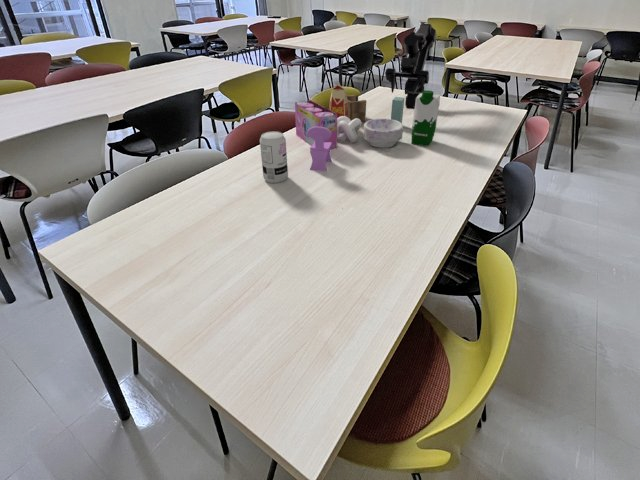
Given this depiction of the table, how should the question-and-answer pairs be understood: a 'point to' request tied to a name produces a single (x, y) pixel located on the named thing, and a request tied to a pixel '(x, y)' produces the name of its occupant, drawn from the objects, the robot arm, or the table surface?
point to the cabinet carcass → (356, 108)
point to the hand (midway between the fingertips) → (402, 93)
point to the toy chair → (320, 147)
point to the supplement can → (274, 157)
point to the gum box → (315, 121)
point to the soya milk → (425, 118)
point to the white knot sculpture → (347, 129)
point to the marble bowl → (383, 132)
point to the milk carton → (339, 101)
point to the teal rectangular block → (397, 109)
